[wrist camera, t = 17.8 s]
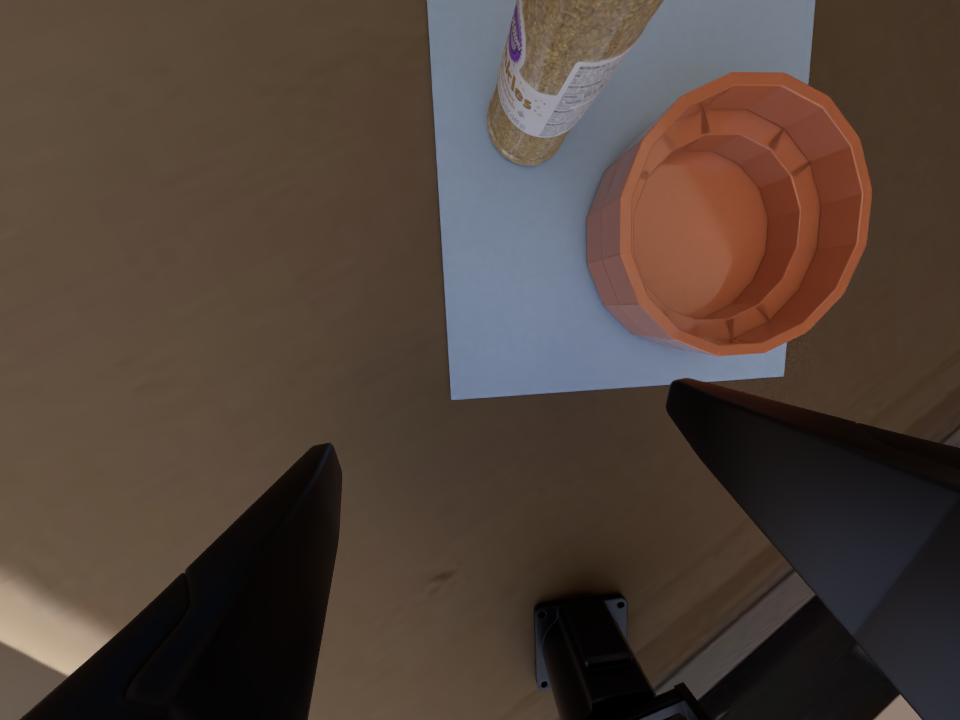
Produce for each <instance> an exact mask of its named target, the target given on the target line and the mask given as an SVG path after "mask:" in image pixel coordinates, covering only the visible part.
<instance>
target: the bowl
mask: <svg viewBox="0 0 960 720" xmlns="http://www.w3.org/2000/svg"><path fill="white" fill-rule="evenodd" d="M871 201H872V186H871V182H870V178H869V174H868V169H867V165H866V161H865V157H864V153H863V148H862V144H861V140H860V138H859V136H858V135H857V134H856V132H855V131H854V129H853V128H852V127H851V125H850V124H849V122H848V121H847V120H846V118H845V117H844V116H843V114H842V113H841V111H840V110H839V109H838V107H837V106H836V105H835V103H834V102H833V100H832V99H831V98H830V97H829V96H828V95H826V94H824V93H822V92H820V91H818V90H816V89H815V88H813V87H811V86H809V85H807V84H805V83H803V82H802V81H800V80H798V79H796V78H794V77H792V76H790V75H788V74H787V73H781V72H730V73H728V74H726V75H724V76H722V77H720V78H718V79H715V80H713V81H711V82H709V83H707V84H705V85H703V86H701V87H698V88H696V89H694V90H692V91H690V92H688V93H686V94H683V95H682V96H681V97H679V98H678V99H677V100H676V101H675V102H674V103H672V104H671V105H670V106H669V107H668V108H667V109H666V110H665V111H664V112H662V113H661V114H660V115H659V116H658V117H657V118H656V119H655V120H654V121H653V122H651V123H650V124H649V125H648V126H647V127H646V128H645V129H644V130H642V131H641V132H640V133H639V134H638V135H637V136H636V137H635V138H634V139H633V140H632V141H631V142H630V143H629V144H628V146H627V147H626V148H625V149H624V150H623V151H622V152H621V153H620V155H619V156H618V157H617V158H616V159H615V160H614V161H613V162H612V163H611V165H610V166H609V167H608V168H607V169H606V170H605V172H604V173H603V176H602V179H601V181H600V184H599V187H598V189H597V192H596V195H595V197H594V200H593V203H592V205H591V208H590V211H589V213H588V217H587V266H588V268H589V271H590V273H591V276H592V278H593V281H594V283H595V286H596V288H597V291H598V293H599V296H600V298H601V301H602V303H603V305H604V306H605V307H606V308H607V309H608V310H609V311H610V312H611V313H612V314H613V315H614V316H615V317H616V318H617V319H618V320H619V321H620V322H621V323H622V324H623V325H624V326H625V327H626V328H627V329H628V330H629V332H630V333H631V334H633V335H636V336H638V337H641V338H644V339H646V340H649V341H652V342H654V343H657V344H659V345H662V346H665V347H667V348H672V349H678V350H683V351H689V352H695V353H700V354H706V355H712V356H733V355H748V354H762V353H766V352H768V351H770V350H772V349H774V348H776V347H778V346H780V345H782V344H784V343H786V342H788V341H790V340H792V339H794V338H796V337H798V336H800V335H802V334H804V333H806V332H808V331H809V330H810V329H811V328H812V327H813V326H814V325H815V324H816V323H817V322H818V321H819V319H820V318H821V317H822V316H823V315H824V314H825V313H826V312H827V311H828V310H829V309H830V308H831V307H832V306H833V305H834V304H835V303H836V302H837V301H838V299H839V298H840V297H841V296H842V295H843V294H844V293H845V290H846V288H847V286H848V284H849V282H850V280H851V278H852V275H853V273H854V271H855V269H856V267H857V265H858V262H859V260H860V258H861V256H862V254H863V252H864V250H865V247H866V244H867V236H868V227H869V219H870V210H871Z"/></svg>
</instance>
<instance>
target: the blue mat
mask: <svg viewBox="0 0 960 720" xmlns="http://www.w3.org/2000/svg"><path fill="white" fill-rule="evenodd" d="M516 1H517V0H427V11H428V27H429V44H430V60H431V77H432V93H433V109H434V126H435V142H436V159H437V175H438V191H439V208H440V224H441V240H442V257H443V273H444V290H445V306H446V322H447V339H448V355H449V371H450V388H451V400H459V399H473V398H487V397H501V396H515V395H529V394H543V393H557V392H571V391H585V390H599V389H613V388H627V387H641V386H655V385H669V384H671V382H672V381H674V380H677V379H682V378H691V379H695V380H698V381H702V382H711V381H725V380H739V379H753V378H768V377H782V376H784V369H785V357H786V345H787V342H786V343H784V344H782V345H780V346H778V347H776V348H774V349H772V350H770V351H768V352H766V353H762V354H748V355H733V356H712V355H706V354H700V353H695V352H689V351H683V350H678V349H672V348H667V347H665V346H662V345H659V344H657V343H654V342H652V341H649V340H646V339H644V338H641V337H638V336H636V335H633V334H631V333H630V332H629V330H628V329H627V328H626V327H625V326H624V325H623V324H622V323H621V322H620V321H619V320H618V319H617V318H616V317H615V316H614V315H613V314H612V313H611V312H610V311H609V310H608V309H607V308H606V307H605V306H604V305H603V303H602V301H601V298H600V296H599V293H598V291H597V288H596V286H595V283H594V281H593V278H592V276H591V273H590V271H589V268H588V266H587V217H588V213H589V211H590V208H591V205H592V203H593V200H594V197H595V195H596V192H597V189H598V187H599V184H600V181H601V179H602V176H603V173H604V172H605V170H606V169H607V168H608V167H609V166H610V165H611V163H612V162H613V161H614V160H615V159H616V158H617V157H618V156H619V155H620V153H621V152H622V151H623V150H624V149H625V148H626V147H627V146H628V144H629V143H630V142H631V141H632V140H633V139H634V138H635V137H636V136H637V135H638V134H639V133H640V132H641V131H642V130H644V129H645V128H646V127H647V126H648V125H649V124H650V123H651V122H653V121H654V120H655V119H656V118H657V117H658V116H659V115H660V114H661V113H662V112H664V111H665V110H666V109H667V108H668V107H669V106H670V105H671V104H672V103H674V102H675V101H676V100H677V99H678V98H679V97H681V96H682V95H683V94H686V93H688V92H690V91H692V90H694V89H696V88H698V87H701V86H703V85H705V84H707V83H709V82H711V81H713V80H715V79H718V78H720V77H722V76H724V75H726V74H728V73H730V72H781V73H787V74H788V75H790V76H792V77H794V78H796V79H798V80H800V81H802V82H803V83H805V84H807V85H808V82H809V70H810V58H811V46H812V34H813V22H814V10H815V0H664V1H663V2H662V4H661V5H660V7H659V8H658V10H657V11H656V13H655V14H654V15H653V16H652V18H651V19H650V21H649V22H648V24H647V25H646V27H645V29H644V31H643V33H642V34H641V36H640V37H639V39H638V40H637V41H636V43H635V44H634V46H633V47H632V48H631V50H630V51H629V53H628V54H627V55H626V57H625V58H624V59H623V61H622V62H621V64H620V65H619V66H618V68H617V69H616V70H615V72H614V73H613V74H612V76H611V77H610V79H609V80H608V82H607V83H606V84H605V86H604V87H603V88H602V90H601V91H600V93H599V94H598V95H597V97H596V98H595V100H594V101H593V102H592V104H591V105H590V106H589V108H588V109H587V110H586V112H585V113H584V114H583V116H582V117H581V119H580V120H579V121H578V122H577V123H576V124H575V125H574V126H573V127H572V129H571V130H570V131H569V133H568V134H567V136H566V137H565V139H564V141H563V144H562V146H561V148H560V149H559V150H558V152H557V153H556V154H555V155H554V156H553V157H551V158H550V159H549V160H547V161H545V162H542V163H540V164H538V165H529V166H528V165H521V164H517V163H514V162H512V161H510V160H509V159H507V158H505V157H504V156H503V155H502V154H501V153H500V152H499V151H498V149H497V148H496V147H495V146H494V144H493V142H492V140H491V137H490V135H489V133H488V126H487V114H488V107H489V103H490V100H491V98H492V95H493V94H494V92H495V88H496V85H497V80H498V73H499V67H500V63H501V60H502V56H503V52H504V48H505V44H506V40H507V37H508V33H509V29H510V25H511V21H512V17H513V13H514V9H515V5H516Z"/></svg>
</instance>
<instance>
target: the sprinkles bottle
mask: <svg viewBox="0 0 960 720" xmlns="http://www.w3.org/2000/svg"><path fill="white" fill-rule="evenodd" d="M663 1H664V0H517V1H516V5H515V9H514V13H513V17H512V21H511V25H510V29H509V33H508V37H507V40H506V44H505V48H504V52H503V56H502V60H501V63H500V67H499V73H498V80H497V85H496V88H495V92H494V94H493V95H492V98H491V100H490V103H489V107H488V114H487V126H488V133H489V135H490V137H491V140H492V142H493V144H494V146H495V147H496V148H497V149H498V151H499V152H500V153H501V154H502V155H503V156H504V157H505V158H507V159H509V160H510V161H512V162H514V163H517V164H521V165H528V166H529V165H538V164H540V163H542V162H545V161H547V160H549V159H550V158H551V157H553V156H554V155H555V154H556V153H557V152H558V150H559V149H560V148H561V146H562V144H563V141H564V139H565V137H566V136H567V134H568V133H569V131H570V130H571V129H572V127H573V126H574V125H575V124H576V123H577V122H578V121H579V120H580V119H581V117H582V116H583V114H584V113H585V112H586V110H587V109H588V108H589V106H590V105H591V104H592V102H593V101H594V100H595V98H596V97H597V95H598V94H599V93H600V91H601V90H602V88H603V87H604V86H605V84H606V83H607V82H608V80H609V79H610V77H611V76H612V74H613V73H614V72H615V70H616V69H617V68H618V66H619V65H620V64H621V62H622V61H623V59H624V58H625V57H626V55H627V54H628V53H629V51H630V50H631V48H632V47H633V46H634V44H635V43H636V41H637V40H638V39H639V37H640V36H641V34H642V33H643V31H644V29H645V27H646V25H647V24H648V22H649V21H650V19H651V18H652V16H653V15H654V14H655V13H656V11H657V10H658V8H659V7H660V5H661V4H662V2H663Z"/></svg>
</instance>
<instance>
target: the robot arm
mask: <svg viewBox="0 0 960 720" xmlns="http://www.w3.org/2000/svg"><path fill="white" fill-rule="evenodd" d="M666 410H667V412H668V414H669V416H670V417H671V419H672V420H673V422H674V423H675V424H676V426H677V427H678V429H679V430H680V431H681V433H682V434H683V436H684V437H685V439H686V440H687V441H688V443H689V444H690V446H691V447H692V449H693V450H694V451H695V453H696V454H697V455H698V457H699V458H700V459H701V461H702V462H703V463H704V464H705V465H706V467H707V468H708V469H709V470H710V471H711V473H712V474H713V475H714V476H715V477H716V478H717V480H718V481H719V482H720V483H721V484H722V485H723V487H724V488H725V489H726V490H727V491H728V492H729V494H730V495H731V496H732V497H733V498H734V499H735V501H736V502H737V503H738V504H739V505H740V506H741V508H742V509H743V510H744V511H745V512H746V513H747V515H748V516H749V517H750V518H751V519H752V521H753V522H754V523H755V524H756V525H757V526H758V528H759V529H760V530H761V531H762V532H763V533H764V535H765V536H766V537H767V538H768V539H769V540H770V542H771V543H772V544H773V545H774V546H775V547H776V549H777V550H778V551H779V552H780V553H781V554H782V556H783V557H784V558H785V559H786V560H787V561H788V563H789V564H790V565H791V566H792V567H793V568H794V570H795V571H796V572H797V573H798V574H799V576H800V577H801V578H802V579H803V580H804V581H805V583H806V584H807V585H808V586H809V587H810V588H811V590H812V591H813V592H814V593H815V594H816V595H817V597H818V598H819V599H820V600H821V601H822V602H823V604H824V605H825V606H826V607H827V608H828V609H829V611H830V612H831V613H832V614H833V615H834V616H835V618H836V619H837V620H838V621H839V622H840V623H841V625H842V626H843V627H844V628H845V629H846V631H847V632H848V633H849V634H850V635H851V636H853V639H854V640H855V642H856V643H857V644H858V645H859V646H860V647H861V649H862V650H863V651H864V652H865V653H866V654H867V656H868V657H869V658H870V659H871V660H872V661H873V663H874V664H875V665H876V666H877V667H878V668H879V670H880V671H881V672H882V673H883V674H884V676H885V677H886V678H887V679H888V680H889V681H890V683H891V684H892V685H893V686H894V687H895V688H896V690H897V691H898V692H899V693H900V694H901V695H902V696H903V698H904V699H905V700H906V701H907V702H908V704H909V705H910V706H911V707H912V708H913V709H914V711H915V712H916V713H917V714H918V715H919V717H920V718H921V719H922V720H960V448H958V447H953V446H949V445H945V444H941V443H936V442H932V441H928V440H924V439H920V438H915V437H912V436H908V435H904V434H900V433H896V432H892V431H888V430H884V429H880V428H876V427H873V426H869V425H865V424H861V423H858V424H857V423H856V422H853V421H850V420H846V419H842V418H838V417H835V416H831V415H827V414H823V413H819V412H816V411H812V410H808V409H804V408H801V407H797V406H793V405H789V404H785V403H782V402H778V401H774V400H770V399H766V398H763V397H759V396H755V395H751V394H748V393H744V392H740V391H736V390H732V389H729V388H725V387H721V386H717V385H714V384H710V383H706V382H702V381H698V380H695V379H691V378H682V379H677V380H674V381H672V382H671V384H670V387H669V392H668V397H667V402H666ZM341 491H342V471H341V467H340V464H339V461H338V458H337V455H336V452H335V449H334V446H333V445H332V444H331V443H325V444H320V445H315V446H313V447H311V448H310V449H309V450H308V451H307V452H306V453H305V454H304V455H303V456H302V457H301V458H300V459H299V460H298V461H297V462H296V463H295V464H294V465H293V466H292V467H291V468H290V469H289V470H288V471H286V472H285V473H284V474H283V475H282V476H281V477H280V478H279V479H278V480H277V481H276V482H275V483H274V484H273V485H272V486H271V487H270V488H269V489H268V490H267V491H266V492H265V493H264V494H263V495H262V496H261V497H260V498H259V499H258V500H257V501H256V502H255V503H254V504H252V505H251V506H250V507H249V508H248V509H247V510H246V511H245V512H244V513H243V514H242V515H241V516H240V517H239V518H238V519H237V520H236V521H235V522H234V523H233V524H232V525H231V526H230V527H229V528H228V529H227V530H226V531H225V532H224V533H223V534H222V535H221V536H220V537H218V538H217V539H216V540H215V541H214V542H213V543H212V544H211V545H210V546H209V547H208V548H207V549H206V550H205V551H204V552H203V553H202V554H201V555H200V556H199V557H198V558H197V559H196V560H195V561H194V562H193V563H192V564H191V565H190V566H189V567H188V568H186V570H185V573H182V574H180V575H179V576H178V577H177V578H176V579H175V580H174V581H173V582H172V583H171V584H170V585H169V586H168V587H167V588H166V589H165V590H164V591H163V592H162V593H161V594H159V595H158V596H157V597H156V598H155V599H154V600H153V601H152V602H151V603H150V604H149V605H148V606H147V607H146V608H145V609H144V610H142V611H141V612H140V613H139V614H138V615H137V616H136V617H135V618H134V619H133V620H132V621H131V622H130V623H129V624H128V625H126V626H125V627H124V628H123V629H122V630H121V631H120V632H119V633H117V634H116V635H115V636H114V637H113V638H112V639H111V640H110V641H109V642H107V643H106V644H105V645H104V646H103V647H102V648H101V649H100V650H98V651H97V652H96V653H95V654H94V655H93V656H92V657H91V658H89V659H88V660H87V661H86V662H85V663H84V664H83V665H82V666H80V667H79V668H78V669H77V670H76V671H75V672H74V673H72V674H71V675H70V676H69V677H68V678H67V679H66V680H64V681H63V682H62V683H61V684H60V685H59V686H58V687H56V688H55V689H54V690H53V691H52V692H51V693H49V694H48V695H47V696H46V697H45V698H44V699H43V700H41V701H40V702H39V703H38V704H37V705H36V706H35V707H34V708H32V709H31V710H30V711H29V712H28V713H27V714H25V715H24V716H23V717H22V718H21V719H20V720H308V715H309V709H310V703H311V697H312V692H313V686H314V680H315V674H316V669H317V663H318V657H319V651H320V646H321V640H322V634H323V628H324V622H325V617H326V611H327V605H328V599H329V594H330V588H331V582H332V576H333V571H334V565H335V559H336V553H337V547H338V540H339V529H340V510H341ZM619 602H620V603H619ZM627 607H628V604H627V601H626V599H625V597H624V596H623V595H622V594H613V595H605V596H597V597H589V598H581V599H573V600H565V601H557V602H549V603H541V604H538V605H537V606H536V607H535V608H534V634H535V671H536V682H537V686H538V688H539V689H540V690H550V689H552V691H553V695H554V698H555V702H556V705H557V709H558V712H559V716H560V720H711V718H710V717H709V716H708V714H707V713H706V712H705V710H704V709H703V708H702V706H701V705H700V704H699V702H698V701H697V700H696V698H695V697H694V696H693V694H692V693H691V692H690V691H689V689H688V688H687V687H686V685H685V684H684V683H683V682H682V683H680V684H678V685H675V686H674V689H672V690H669V691H667V692H665V693H663V694H660V695H658V696H657V695H656V694H655V692H654V690H653V688H652V686H651V684H650V683H649V681H648V679H647V677H646V675H645V674H644V672H643V670H642V668H641V666H640V664H639V663H638V661H637V659H636V657H635V655H634V653H633V652H632V650H631V648H630V646H629V644H628V642H627ZM540 612H543V613H540Z"/></svg>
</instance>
